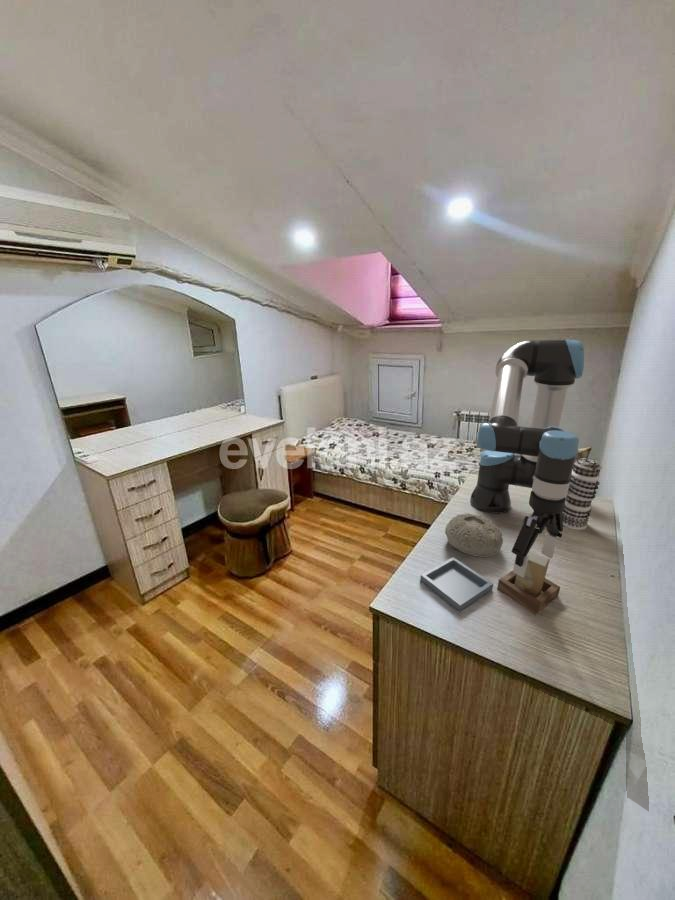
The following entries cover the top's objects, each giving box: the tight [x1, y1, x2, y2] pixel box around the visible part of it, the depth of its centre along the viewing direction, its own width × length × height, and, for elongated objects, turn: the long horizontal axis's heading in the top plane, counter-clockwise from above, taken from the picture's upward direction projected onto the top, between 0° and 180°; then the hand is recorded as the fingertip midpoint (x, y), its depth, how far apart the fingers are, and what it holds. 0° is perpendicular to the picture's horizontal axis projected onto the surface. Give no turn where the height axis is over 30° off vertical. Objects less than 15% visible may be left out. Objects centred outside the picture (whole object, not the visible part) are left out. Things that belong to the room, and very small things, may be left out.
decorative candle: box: [562, 457, 603, 531], centre depth 124 cm, size 9×9×25 cm
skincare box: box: [514, 550, 551, 598], centre depth 95 cm, size 6×4×12 cm
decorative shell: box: [444, 512, 504, 558], centre depth 115 cm, size 18×18×10 cm
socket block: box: [496, 570, 561, 616], centre depth 96 cm, size 11×11×4 cm
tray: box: [419, 556, 494, 613], centre depth 100 cm, size 14×14×2 cm
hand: (533, 564), depth 93 cm, fingers open, 13 cm apart
